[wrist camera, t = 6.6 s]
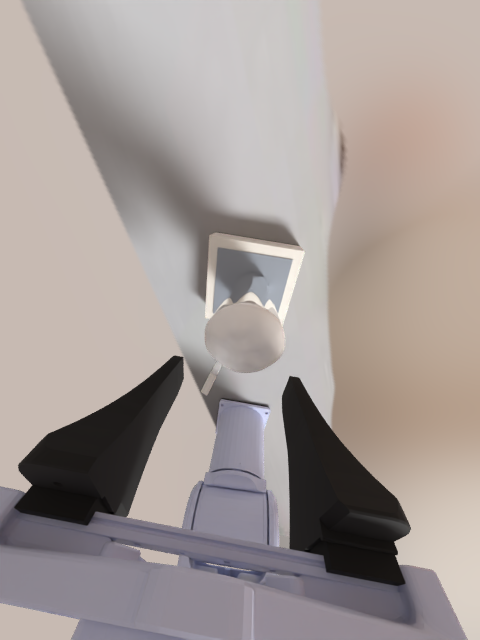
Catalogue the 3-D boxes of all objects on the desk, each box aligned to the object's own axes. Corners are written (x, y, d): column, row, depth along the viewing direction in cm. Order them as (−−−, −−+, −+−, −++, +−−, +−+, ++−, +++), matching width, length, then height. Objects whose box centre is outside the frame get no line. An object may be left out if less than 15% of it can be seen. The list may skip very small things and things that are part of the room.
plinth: (279, 319, 22) (281, 331, 20) (210, 307, 22) (204, 318, 20) (299, 246, 18) (305, 251, 16) (215, 232, 18) (208, 235, 16)
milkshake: (212, 295, 19) (168, 371, 10) (250, 253, 16) (236, 304, 8) (246, 324, 20) (234, 413, 11) (286, 288, 17) (310, 367, 9)
